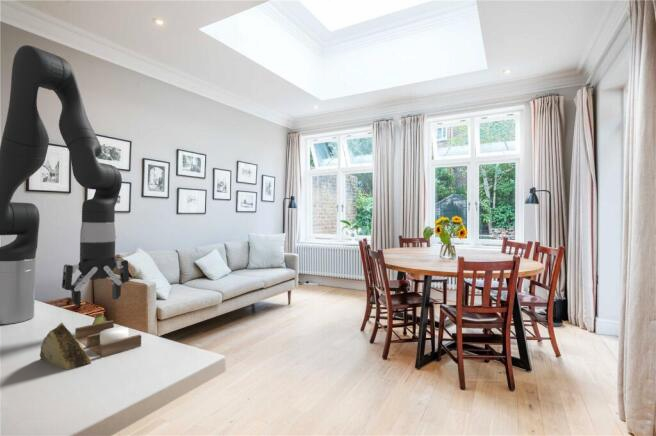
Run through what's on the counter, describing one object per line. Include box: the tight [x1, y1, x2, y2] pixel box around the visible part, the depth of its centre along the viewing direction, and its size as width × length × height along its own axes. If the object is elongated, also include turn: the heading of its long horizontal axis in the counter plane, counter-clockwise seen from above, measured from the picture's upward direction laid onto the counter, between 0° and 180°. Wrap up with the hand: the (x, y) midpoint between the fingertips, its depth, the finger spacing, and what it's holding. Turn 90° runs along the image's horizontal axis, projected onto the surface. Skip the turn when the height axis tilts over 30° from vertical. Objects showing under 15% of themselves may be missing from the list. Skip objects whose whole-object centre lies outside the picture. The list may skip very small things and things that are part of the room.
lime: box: [92, 313, 107, 324], centre depth 87 cm, size 4×5×5 cm
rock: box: [39, 322, 92, 370], centre depth 70 cm, size 11×9×10 cm
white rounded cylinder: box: [100, 326, 130, 347], centre depth 77 cm, size 6×6×4 cm
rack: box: [74, 320, 142, 358], centre depth 79 cm, size 16×8×4 cm, turn 54°
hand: (96, 302), depth 87 cm, fingers open, 8 cm apart
